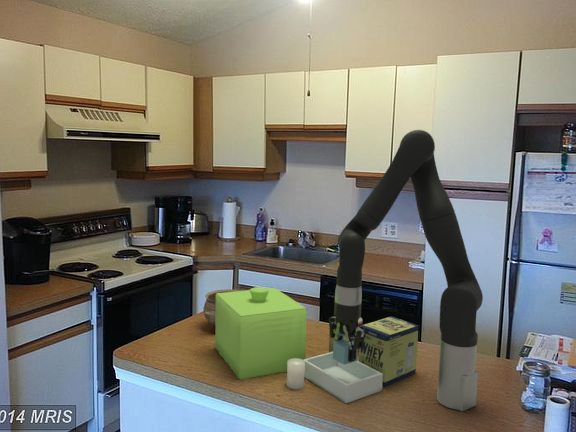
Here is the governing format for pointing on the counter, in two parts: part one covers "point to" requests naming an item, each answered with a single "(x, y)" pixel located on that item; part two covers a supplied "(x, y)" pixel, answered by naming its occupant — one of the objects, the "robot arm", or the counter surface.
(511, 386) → the counter surface
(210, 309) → the cooking pot
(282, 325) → the canister
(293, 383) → the white piece
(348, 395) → the tote
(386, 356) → the protein box
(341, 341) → the cube
